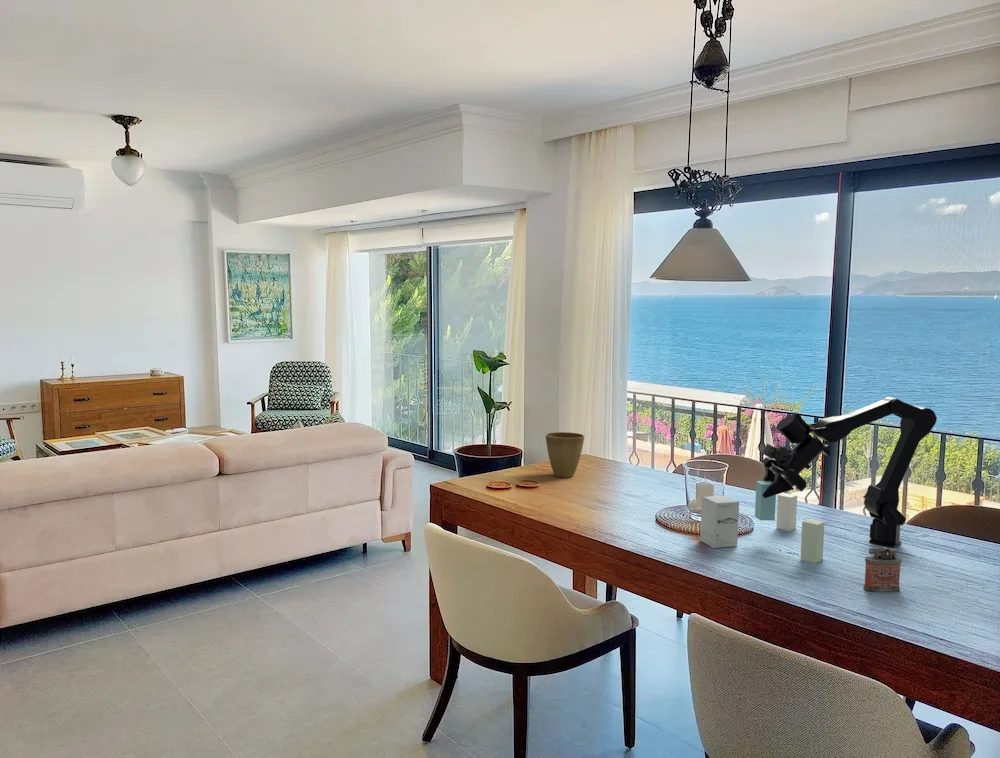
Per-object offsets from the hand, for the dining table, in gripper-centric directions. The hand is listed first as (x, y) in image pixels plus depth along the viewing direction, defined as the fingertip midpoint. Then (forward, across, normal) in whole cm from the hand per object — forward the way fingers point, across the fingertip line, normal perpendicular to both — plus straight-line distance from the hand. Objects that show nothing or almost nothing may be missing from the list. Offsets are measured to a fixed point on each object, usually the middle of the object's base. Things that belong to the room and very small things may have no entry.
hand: (760, 494), depth 202 cm
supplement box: (+18, +1, +2) cm, 18 cm away
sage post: (+4, +14, +16) cm, 21 cm away
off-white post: (0, -14, +19) cm, 23 cm away
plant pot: (+42, -82, -22) cm, 95 cm away
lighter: (-1, +34, +21) cm, 40 cm away
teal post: (+4, 0, +6) cm, 7 cm away
